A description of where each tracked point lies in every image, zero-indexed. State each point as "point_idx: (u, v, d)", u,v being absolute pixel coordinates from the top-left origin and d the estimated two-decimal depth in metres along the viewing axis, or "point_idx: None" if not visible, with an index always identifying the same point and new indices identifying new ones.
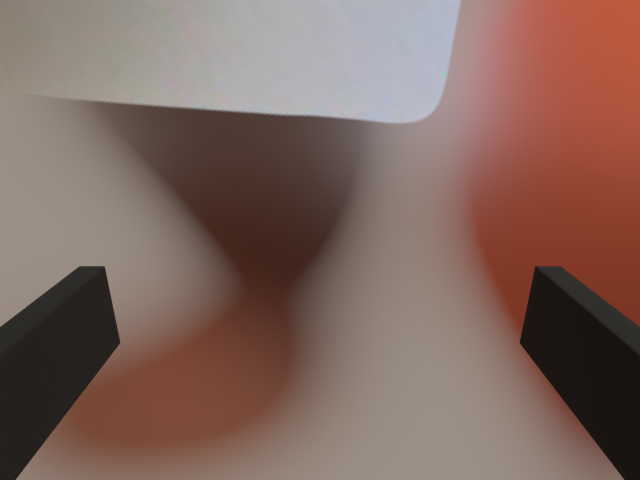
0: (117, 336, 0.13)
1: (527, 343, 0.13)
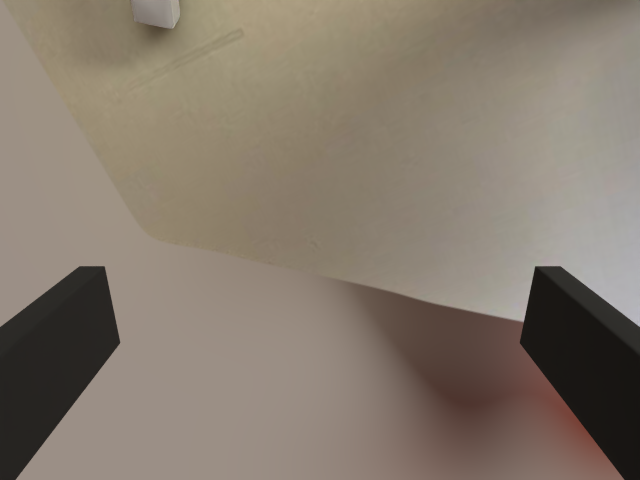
0: (117, 336, 0.13)
1: (527, 343, 0.13)
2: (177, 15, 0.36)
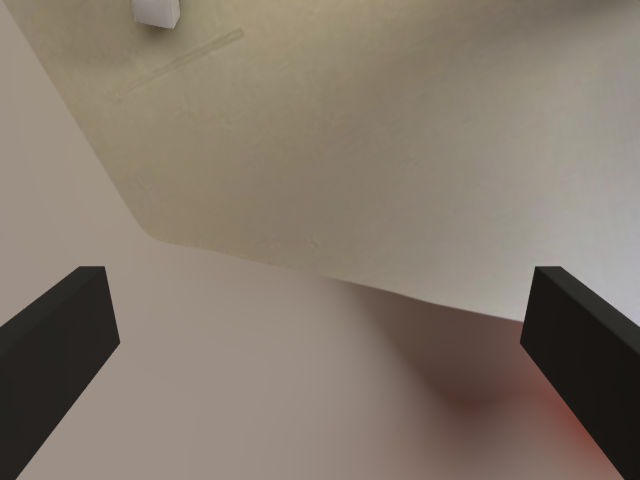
0: (117, 336, 0.13)
1: (527, 343, 0.13)
2: (177, 15, 0.36)
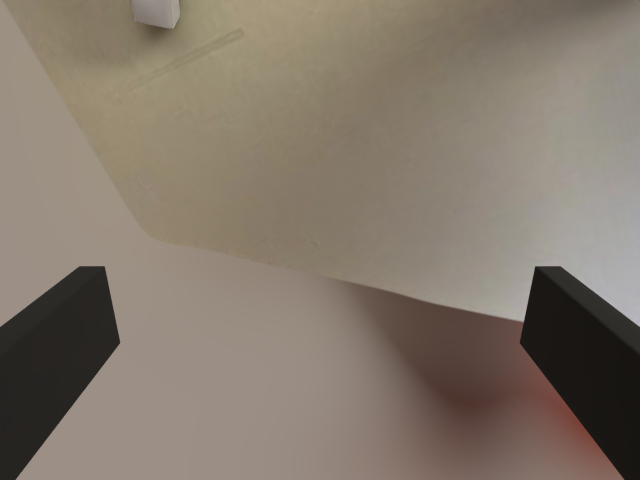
0: (117, 336, 0.13)
1: (527, 343, 0.13)
2: (177, 15, 0.36)
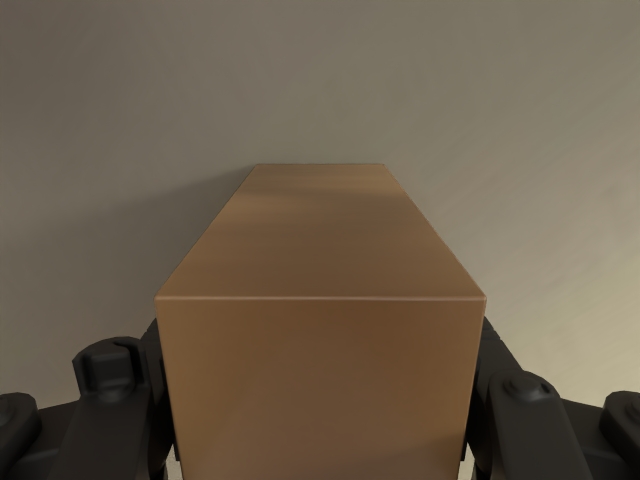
0: None
1: None
2: None
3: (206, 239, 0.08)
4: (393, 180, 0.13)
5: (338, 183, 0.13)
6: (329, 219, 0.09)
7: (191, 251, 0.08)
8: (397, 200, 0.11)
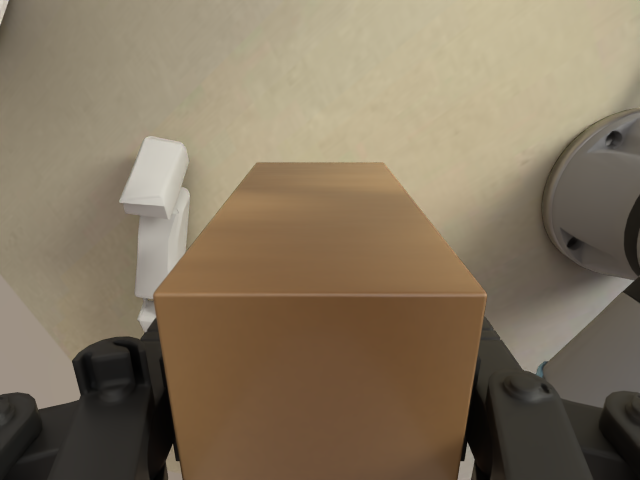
0: None
1: None
2: None
3: (206, 236, 0.08)
4: (393, 178, 0.13)
5: (338, 181, 0.13)
6: (329, 216, 0.09)
7: (190, 248, 0.08)
8: (397, 198, 0.11)
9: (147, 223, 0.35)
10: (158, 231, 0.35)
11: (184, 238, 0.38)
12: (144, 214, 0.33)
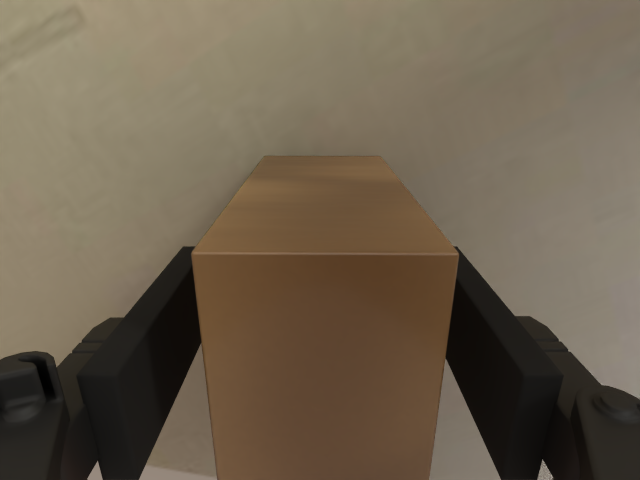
0: None
1: None
2: None
3: (227, 213, 0.10)
4: (388, 169, 0.15)
5: (339, 171, 0.14)
6: (331, 199, 0.11)
7: (216, 221, 0.09)
8: (391, 185, 0.12)
9: None
10: None
11: None
12: None
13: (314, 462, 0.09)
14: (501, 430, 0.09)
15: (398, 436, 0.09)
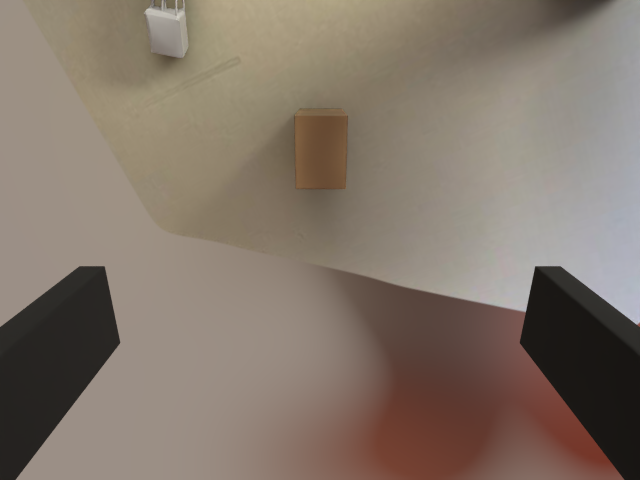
0: (117, 336, 0.13)
1: (527, 343, 0.13)
2: (186, 46, 0.44)
3: (297, 113, 0.40)
4: (342, 110, 0.45)
5: (326, 110, 0.45)
6: (323, 112, 0.41)
7: None
8: (340, 111, 0.43)
9: None
10: None
11: None
12: None
13: (318, 170, 0.40)
14: None
15: (337, 162, 0.40)
